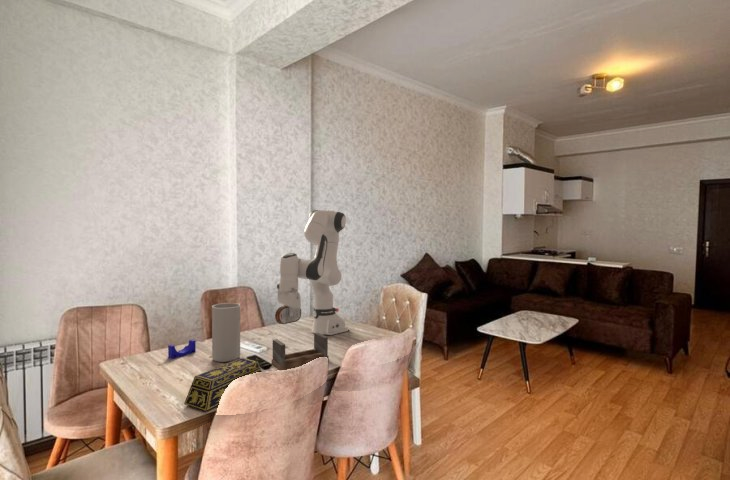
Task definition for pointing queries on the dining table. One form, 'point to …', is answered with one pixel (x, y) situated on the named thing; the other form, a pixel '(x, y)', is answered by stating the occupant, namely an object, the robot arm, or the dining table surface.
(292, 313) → the robot arm
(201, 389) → the decorative box
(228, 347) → the cylinder vase
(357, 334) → the dining table surface
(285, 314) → the tin
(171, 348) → the cable clip
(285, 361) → the holder
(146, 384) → the dining table surface
